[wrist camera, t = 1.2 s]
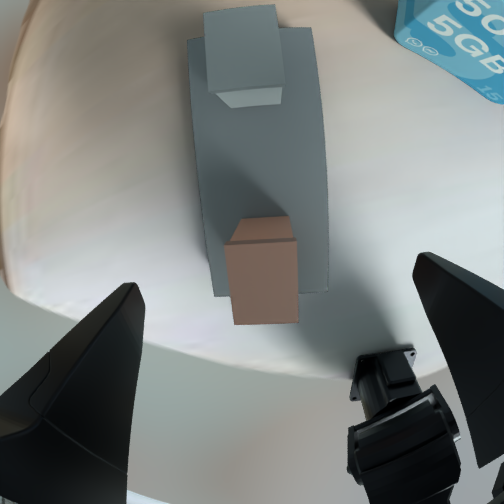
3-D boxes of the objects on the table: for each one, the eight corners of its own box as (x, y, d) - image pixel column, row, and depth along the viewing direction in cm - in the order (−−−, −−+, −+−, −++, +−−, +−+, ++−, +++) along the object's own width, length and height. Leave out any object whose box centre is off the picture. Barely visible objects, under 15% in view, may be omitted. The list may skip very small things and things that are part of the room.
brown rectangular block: (291, 262, 21) (298, 322, 14) (248, 264, 22) (234, 324, 14) (288, 206, 20) (296, 241, 12) (243, 209, 20) (223, 245, 13)
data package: (387, 40, 15) (466, -28, 4) (393, 2, 14) (458, -68, 2) (494, 106, 15) (589, 105, 4) (497, 68, 14) (583, 54, 3)
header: (321, 274, 22) (327, 291, 19) (221, 278, 23) (214, 296, 20) (306, 43, 16) (311, 27, 13) (198, 53, 17) (187, 40, 14)
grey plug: (281, 111, 18) (285, 83, 10) (235, 115, 18) (208, 91, 10) (275, 57, 16) (274, 4, 9) (230, 61, 17) (203, 13, 9)
